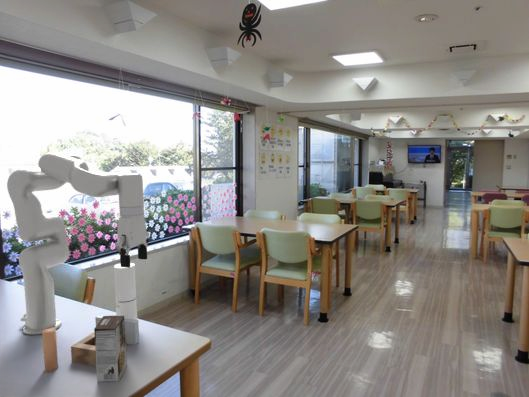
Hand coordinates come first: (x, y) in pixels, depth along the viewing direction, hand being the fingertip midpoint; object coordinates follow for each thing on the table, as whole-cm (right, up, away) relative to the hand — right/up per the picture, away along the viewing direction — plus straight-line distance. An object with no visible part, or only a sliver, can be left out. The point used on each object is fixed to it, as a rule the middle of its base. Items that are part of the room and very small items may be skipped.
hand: (134, 262), depth 131 cm
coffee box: (-3, -31, -12) cm, 34 cm away
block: (-12, -30, -2) cm, 32 cm away
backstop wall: (-9, -29, +8) cm, 31 cm away
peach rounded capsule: (-22, -31, -10) cm, 39 cm away
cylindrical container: (-8, -28, +15) cm, 33 cm away
